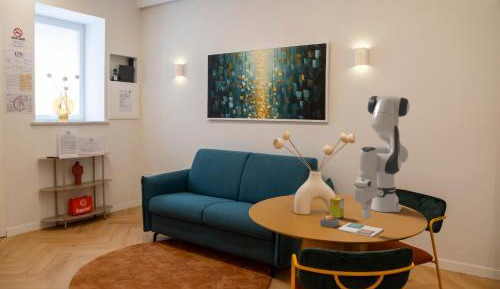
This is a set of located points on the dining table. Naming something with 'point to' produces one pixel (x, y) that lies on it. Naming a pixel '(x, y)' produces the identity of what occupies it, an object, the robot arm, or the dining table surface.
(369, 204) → the cylinder
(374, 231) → the picture sheet
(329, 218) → the button
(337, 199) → the supplement box
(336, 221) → the button housing
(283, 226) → the dining table surface
